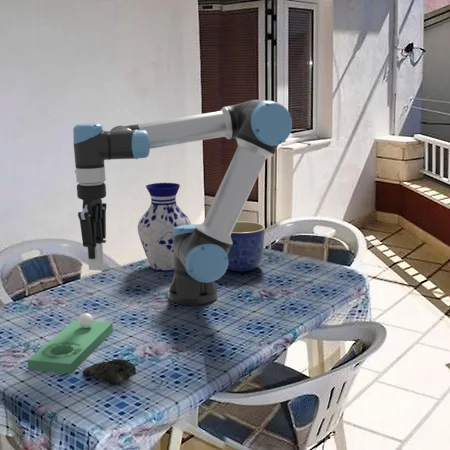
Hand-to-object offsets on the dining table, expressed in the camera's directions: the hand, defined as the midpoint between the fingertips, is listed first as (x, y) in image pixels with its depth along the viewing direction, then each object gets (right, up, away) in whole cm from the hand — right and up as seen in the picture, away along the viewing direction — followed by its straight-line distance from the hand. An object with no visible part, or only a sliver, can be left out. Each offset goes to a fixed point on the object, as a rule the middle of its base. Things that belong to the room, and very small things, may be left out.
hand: (96, 267), depth 168 cm
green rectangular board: (-3, -20, -12) cm, 23 cm away
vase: (+14, -4, +55) cm, 57 cm away
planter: (+41, -4, +53) cm, 67 cm away
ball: (-2, -14, -5) cm, 15 cm away
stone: (+9, -24, -27) cm, 37 cm away
